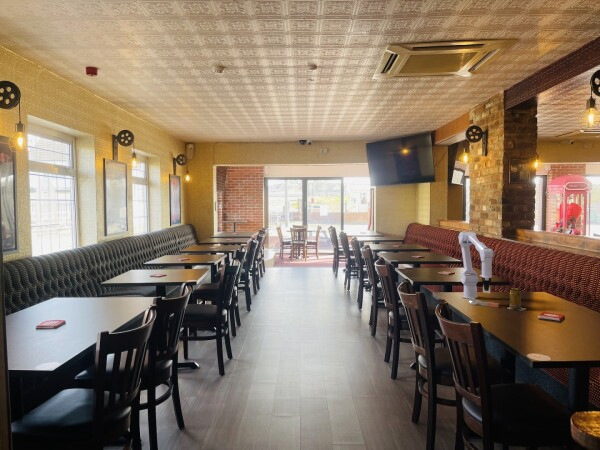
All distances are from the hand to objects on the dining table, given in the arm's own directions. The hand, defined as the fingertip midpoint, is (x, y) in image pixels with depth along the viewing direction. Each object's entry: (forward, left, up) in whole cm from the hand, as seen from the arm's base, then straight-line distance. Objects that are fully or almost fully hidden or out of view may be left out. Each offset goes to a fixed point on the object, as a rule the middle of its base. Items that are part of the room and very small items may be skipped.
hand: (486, 290), depth 270 cm
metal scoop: (+4, -1, -9) cm, 10 cm away
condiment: (+1, +18, -9) cm, 20 cm away
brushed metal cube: (0, 0, -1) cm, 1 cm away
